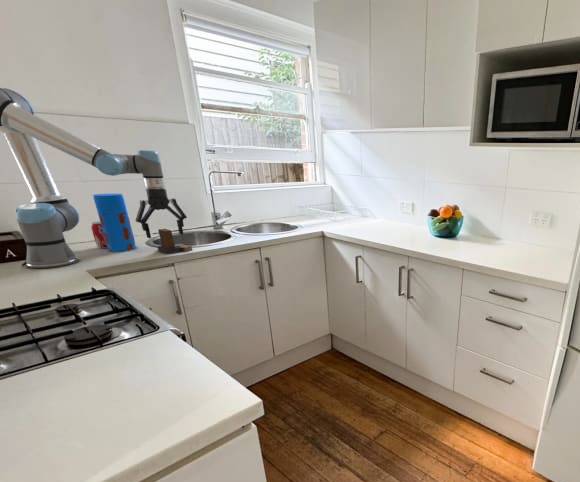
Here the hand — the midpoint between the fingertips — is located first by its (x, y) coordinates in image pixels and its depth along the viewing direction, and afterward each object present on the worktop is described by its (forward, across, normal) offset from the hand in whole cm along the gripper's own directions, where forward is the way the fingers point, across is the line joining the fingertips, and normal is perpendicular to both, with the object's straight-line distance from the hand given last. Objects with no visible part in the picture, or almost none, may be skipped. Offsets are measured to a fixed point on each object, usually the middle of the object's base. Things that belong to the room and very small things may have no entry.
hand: (165, 235), depth 176 cm
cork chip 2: (+7, +6, -4) cm, 10 cm away
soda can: (+8, -17, +29) cm, 34 cm away
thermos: (+8, -13, +20) cm, 25 cm away
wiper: (+7, 0, 0) cm, 7 cm away
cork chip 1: (+7, +5, +1) cm, 9 cm away
